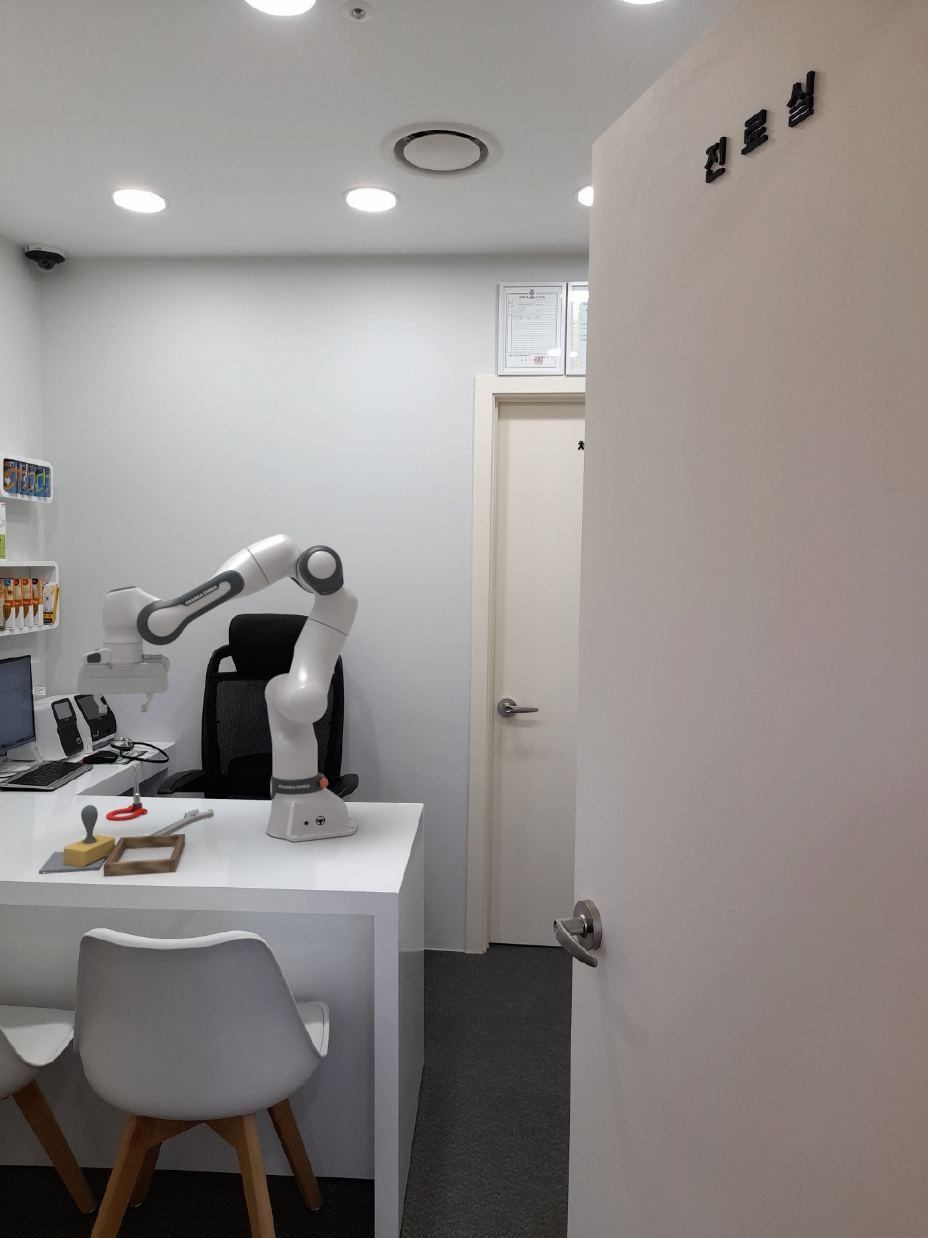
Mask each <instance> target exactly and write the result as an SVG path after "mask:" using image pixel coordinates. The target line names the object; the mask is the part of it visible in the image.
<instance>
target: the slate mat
mask: <svg viewBox="0 0 928 1238" xmlns="http://www.w3.org/2000/svg"><path fill="white" fill-rule="evenodd" d="M107 859H108V856H106V857H104V858H102V859H100V860H98V861H95V862H93V863H91V864H89V865H87V866H85V867H79V866H72V865H64V851H53V853H52V854H51V855H50V857H49V858H48V859H47V860H46V862H45V863H44V864H43V866H41V868H40V869H39V871H38V874H39V873H42V874H47V873H46V872H57V873H70V872H84V871H85V872H86V871H87V872H88V871H100V869H101V868H102V866H103V865H104V863H105V862H106V860H107ZM43 872H45V873H43Z"/></svg>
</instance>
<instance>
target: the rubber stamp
mask: <svg viewBox="0 0 928 1238" xmlns="http://www.w3.org/2000/svg"><path fill="white" fill-rule="evenodd" d="M98 816H99V812H98V809H97V807H96V806H95V805H92V804H89V805H85V806H84V807H83V808H82V810H81V813H80V817H81V821H82V823H83V826H84V828H85V831H86V836H85V838H84V839H81V840H79V841H77V842H74V843H72V844H69V845H66V846H65V847H64V848H63V852H64V865H72V866H79V867H85V866H87V865H89V864H91V863H93V862H95V861H98V860H100V859H102V858H104V857H106V856H107V857H109V855H110V854H111V852H112V850H113V849H114V847H115V846H116V836H110V835H103V834H94V829H95V827H96V824H97V821H98Z"/></svg>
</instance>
